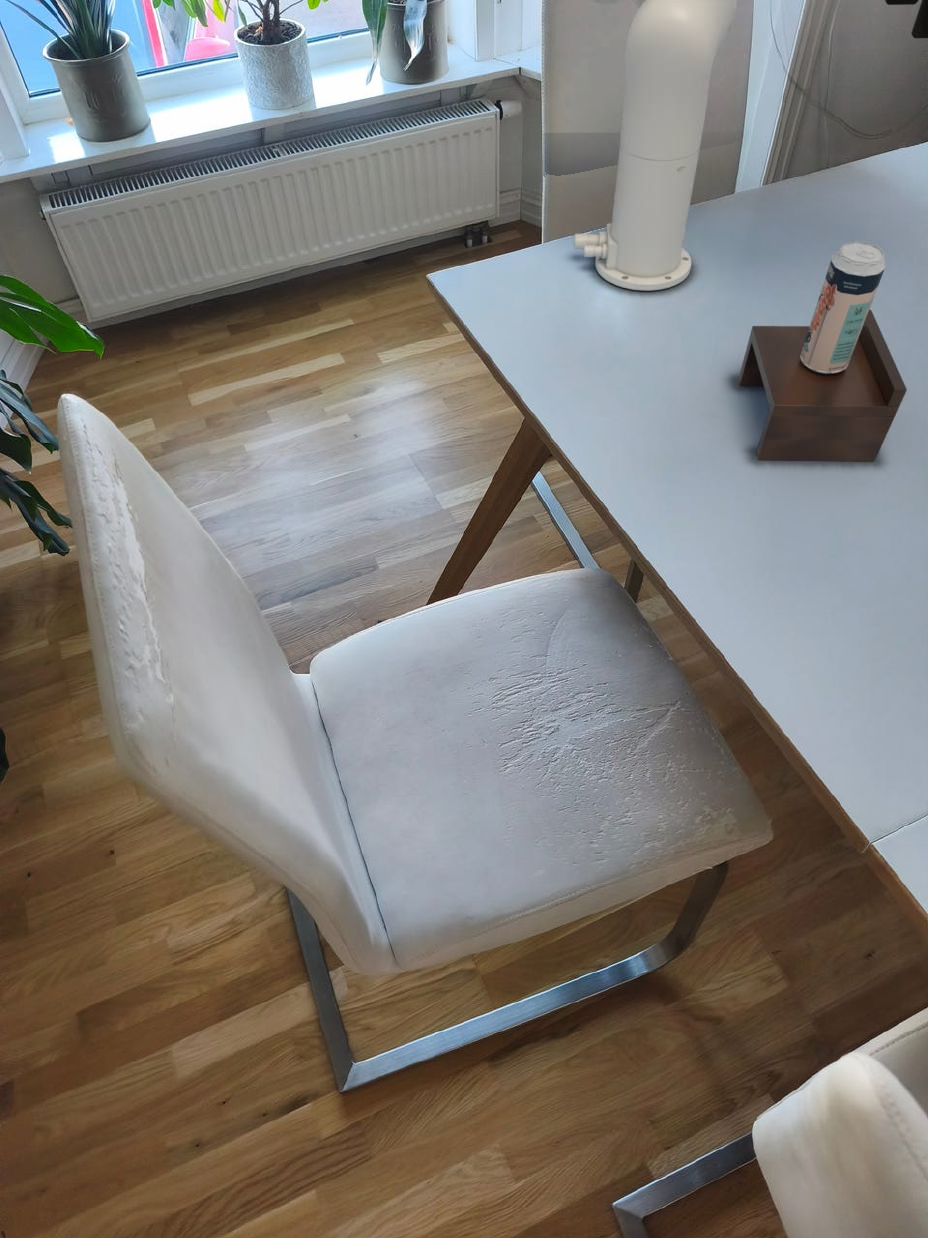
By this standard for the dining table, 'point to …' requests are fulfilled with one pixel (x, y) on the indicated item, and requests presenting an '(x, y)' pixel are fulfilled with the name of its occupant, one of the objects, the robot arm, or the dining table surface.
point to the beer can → (843, 307)
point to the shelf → (823, 396)
